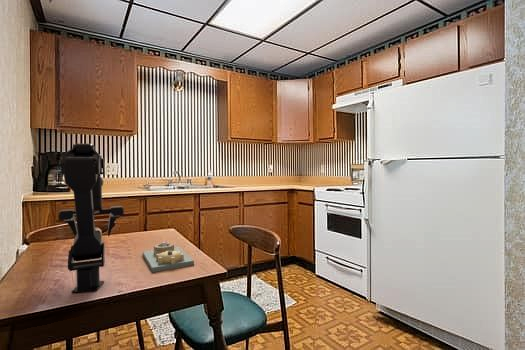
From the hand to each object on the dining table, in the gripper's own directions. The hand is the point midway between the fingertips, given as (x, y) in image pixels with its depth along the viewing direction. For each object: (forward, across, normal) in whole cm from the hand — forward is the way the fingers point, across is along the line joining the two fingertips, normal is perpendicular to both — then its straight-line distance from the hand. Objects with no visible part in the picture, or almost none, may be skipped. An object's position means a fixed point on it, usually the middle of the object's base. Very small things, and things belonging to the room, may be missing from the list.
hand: (93, 237), depth 99 cm
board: (+11, -24, +2) cm, 26 cm away
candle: (+11, 0, -25) cm, 28 cm away
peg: (+9, -24, -3) cm, 26 cm away
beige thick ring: (+10, -24, -3) cm, 26 cm away
